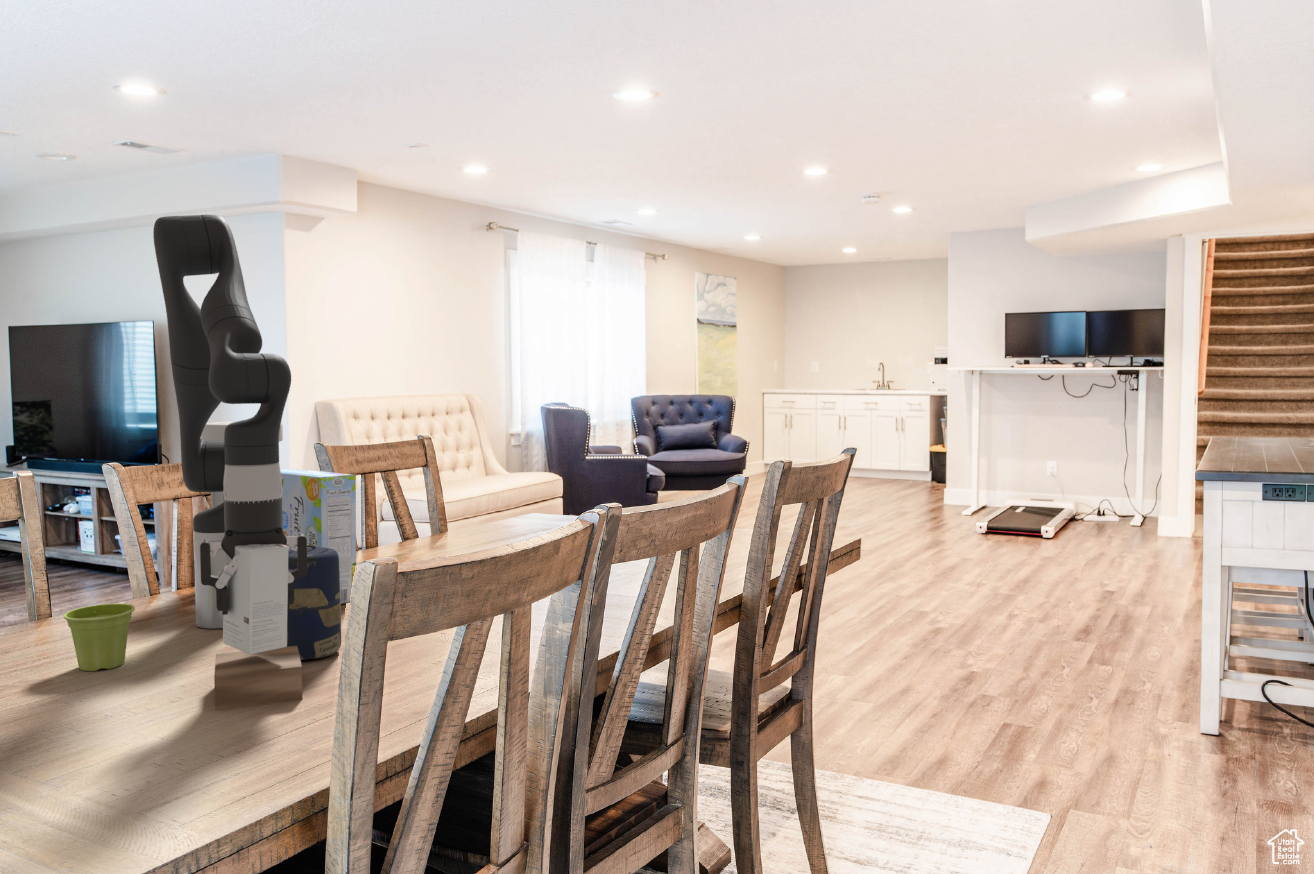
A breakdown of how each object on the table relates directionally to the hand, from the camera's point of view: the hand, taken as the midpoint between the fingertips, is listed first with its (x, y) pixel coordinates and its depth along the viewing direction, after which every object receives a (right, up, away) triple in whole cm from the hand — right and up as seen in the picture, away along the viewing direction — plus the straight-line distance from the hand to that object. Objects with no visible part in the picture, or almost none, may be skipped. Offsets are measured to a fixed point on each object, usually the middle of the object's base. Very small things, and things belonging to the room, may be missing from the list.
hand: (256, 610), depth 131 cm
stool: (-32, -8, +69) cm, 76 cm away
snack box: (-14, -8, +57) cm, 59 cm away
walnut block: (0, -12, +1) cm, 12 cm away
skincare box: (0, -5, 0) cm, 5 cm away
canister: (+1, -11, +19) cm, 22 cm away
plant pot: (-29, -11, +13) cm, 34 cm away
